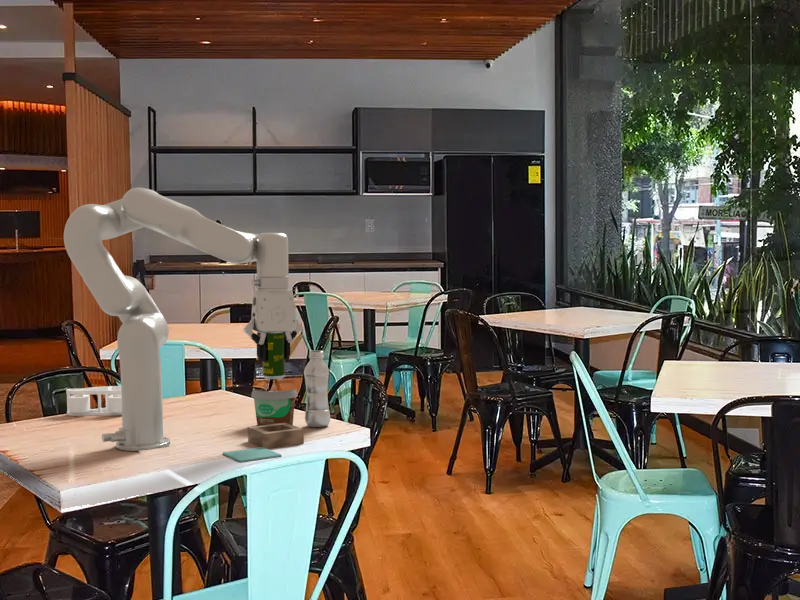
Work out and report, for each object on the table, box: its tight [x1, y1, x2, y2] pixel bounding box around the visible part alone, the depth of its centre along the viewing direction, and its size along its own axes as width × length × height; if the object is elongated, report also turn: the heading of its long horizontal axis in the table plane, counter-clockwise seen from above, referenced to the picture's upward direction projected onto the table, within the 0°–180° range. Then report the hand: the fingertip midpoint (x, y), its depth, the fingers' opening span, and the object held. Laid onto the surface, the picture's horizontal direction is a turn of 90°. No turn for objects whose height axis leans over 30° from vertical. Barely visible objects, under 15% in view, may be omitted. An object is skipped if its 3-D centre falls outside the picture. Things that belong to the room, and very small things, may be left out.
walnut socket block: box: [247, 423, 305, 449], centre depth 232 cm, size 10×10×4 cm
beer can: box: [262, 332, 286, 380], centre depth 230 cm, size 5×5×12 cm
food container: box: [250, 387, 298, 426], centre depth 250 cm, size 12×6×10 cm, turn 81°
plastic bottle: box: [303, 349, 331, 428], centre depth 250 cm, size 6×7×20 cm
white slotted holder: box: [65, 385, 122, 417], centre depth 273 cm, size 20×11×7 cm, turn 88°
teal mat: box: [222, 446, 282, 463], centre depth 218 cm, size 10×10×1 cm
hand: (273, 359), depth 231 cm, fingers closed on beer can, 5 cm apart
